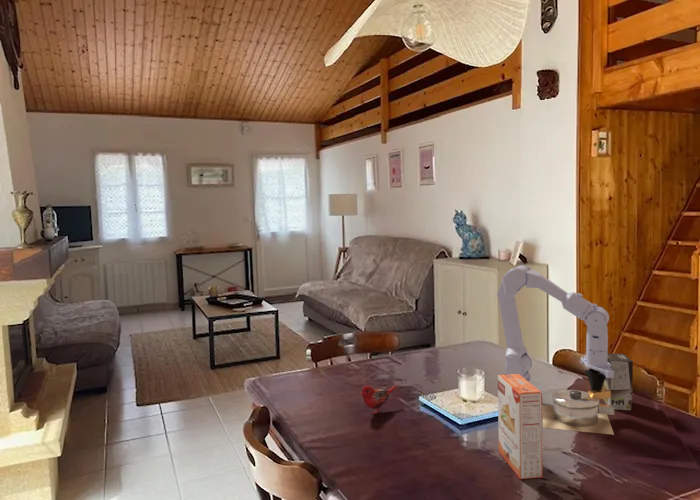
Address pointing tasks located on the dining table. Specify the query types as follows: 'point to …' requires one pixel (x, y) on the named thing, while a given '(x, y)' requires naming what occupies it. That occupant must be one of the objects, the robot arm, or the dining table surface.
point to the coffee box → (620, 382)
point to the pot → (580, 414)
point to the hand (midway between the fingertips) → (596, 394)
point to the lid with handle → (580, 398)
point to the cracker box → (520, 425)
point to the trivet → (600, 427)
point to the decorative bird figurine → (375, 397)
